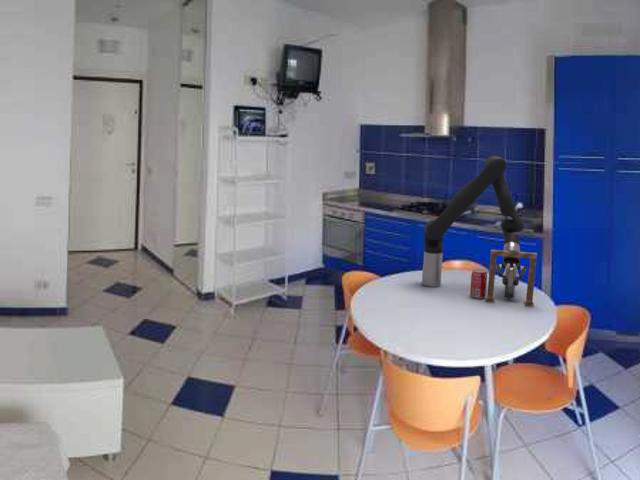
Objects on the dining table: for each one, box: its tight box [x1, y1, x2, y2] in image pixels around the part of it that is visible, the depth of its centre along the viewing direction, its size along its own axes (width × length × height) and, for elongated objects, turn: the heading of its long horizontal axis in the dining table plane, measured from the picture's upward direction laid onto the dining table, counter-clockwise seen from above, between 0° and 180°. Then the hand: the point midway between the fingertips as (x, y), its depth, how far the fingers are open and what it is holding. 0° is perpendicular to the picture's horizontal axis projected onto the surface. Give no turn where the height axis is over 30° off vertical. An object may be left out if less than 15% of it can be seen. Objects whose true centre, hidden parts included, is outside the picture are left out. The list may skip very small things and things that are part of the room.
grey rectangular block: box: [503, 267, 517, 300], centre depth 245 cm, size 4×5×14 cm
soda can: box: [469, 268, 488, 300], centre depth 250 cm, size 7×7×13 cm
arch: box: [484, 249, 538, 307], centre depth 241 cm, size 21×5×24 cm, turn 73°
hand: (510, 284), depth 244 cm, fingers closed on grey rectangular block, 4 cm apart
